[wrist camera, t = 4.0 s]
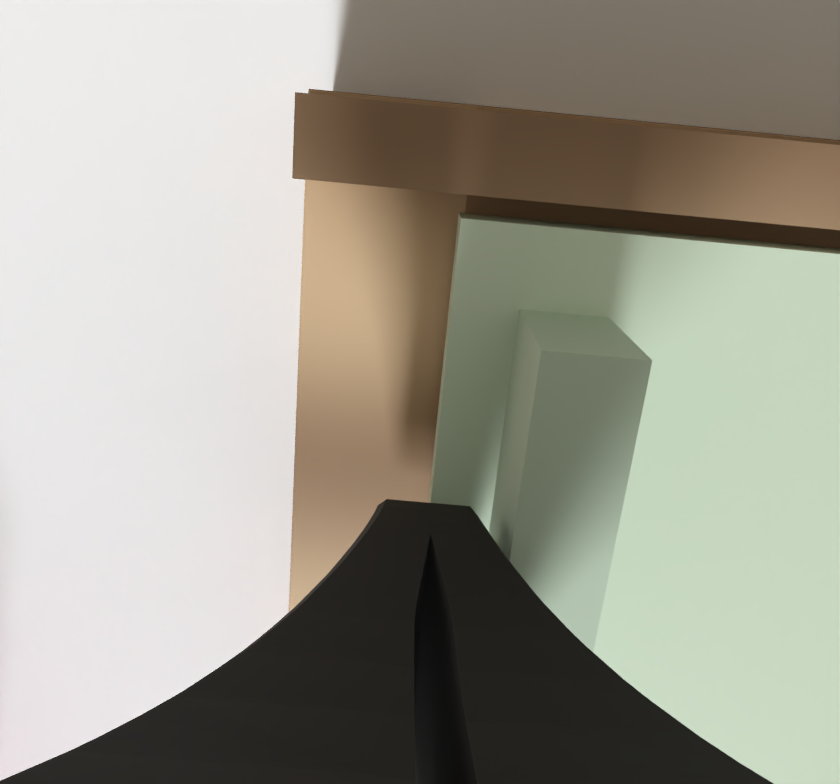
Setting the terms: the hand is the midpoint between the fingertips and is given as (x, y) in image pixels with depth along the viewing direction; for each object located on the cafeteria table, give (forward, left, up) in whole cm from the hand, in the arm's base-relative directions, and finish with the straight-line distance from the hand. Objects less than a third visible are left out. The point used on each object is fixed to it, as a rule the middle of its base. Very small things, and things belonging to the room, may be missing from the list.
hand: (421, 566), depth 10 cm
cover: (0, -4, -2) cm, 4 cm away
